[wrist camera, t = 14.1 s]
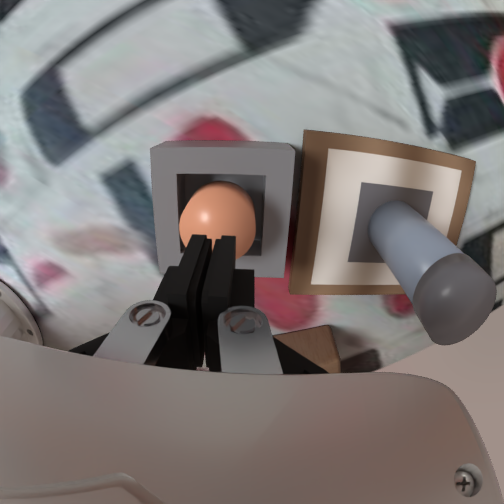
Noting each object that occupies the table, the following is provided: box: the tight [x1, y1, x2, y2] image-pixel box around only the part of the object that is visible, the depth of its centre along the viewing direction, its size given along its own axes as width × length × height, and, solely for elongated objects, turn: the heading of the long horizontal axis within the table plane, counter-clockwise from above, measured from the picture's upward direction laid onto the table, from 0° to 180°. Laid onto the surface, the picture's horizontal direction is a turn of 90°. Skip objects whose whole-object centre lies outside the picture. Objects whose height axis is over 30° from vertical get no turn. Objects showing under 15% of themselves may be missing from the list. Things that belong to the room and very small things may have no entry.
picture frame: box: [289, 130, 476, 295], centre depth 21 cm, size 14×12×1 cm
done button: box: [179, 181, 256, 259], centre depth 17 cm, size 4×4×2 cm
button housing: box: [150, 140, 295, 278], centre depth 19 cm, size 8×8×4 cm
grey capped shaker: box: [368, 201, 496, 345], centre depth 16 cm, size 4×4×10 cm
